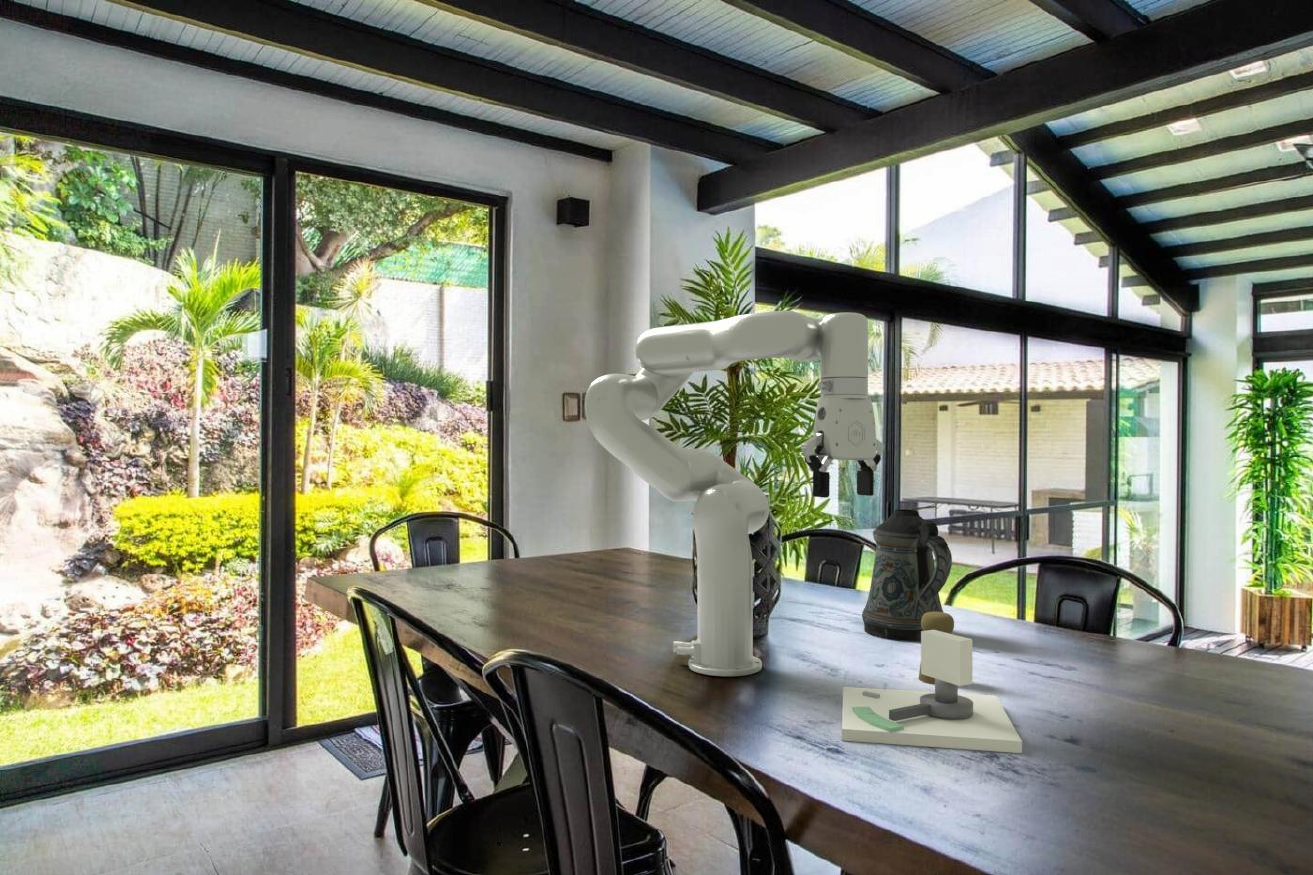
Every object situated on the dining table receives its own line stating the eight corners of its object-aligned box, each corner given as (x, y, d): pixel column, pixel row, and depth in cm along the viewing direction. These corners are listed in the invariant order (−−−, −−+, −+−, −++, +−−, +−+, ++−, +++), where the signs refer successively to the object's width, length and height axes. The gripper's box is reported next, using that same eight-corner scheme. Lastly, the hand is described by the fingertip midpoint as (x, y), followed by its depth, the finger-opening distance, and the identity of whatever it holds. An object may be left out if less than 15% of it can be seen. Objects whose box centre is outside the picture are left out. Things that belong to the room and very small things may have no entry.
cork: (959, 685, 139) (959, 616, 140) (920, 683, 141) (920, 615, 141) (954, 675, 145) (954, 609, 145) (916, 674, 147) (916, 608, 147)
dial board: (842, 740, 114) (842, 725, 114) (843, 696, 134) (843, 683, 134) (1022, 753, 109) (1022, 737, 109) (996, 706, 129) (996, 692, 129)
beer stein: (880, 620, 190) (879, 505, 190) (971, 632, 179) (970, 509, 179) (849, 634, 177) (848, 510, 177) (945, 647, 165) (945, 515, 165)
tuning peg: (945, 700, 126) (945, 627, 126) (984, 713, 119) (984, 637, 119) (873, 714, 119) (873, 637, 119) (910, 729, 113) (910, 648, 113)
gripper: (820, 387, 134) (819, 499, 134) (899, 391, 143) (898, 495, 143) (787, 389, 140) (787, 496, 140) (865, 393, 149) (864, 493, 149)
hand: (843, 496), depth 141 cm, fingers open, 9 cm apart
